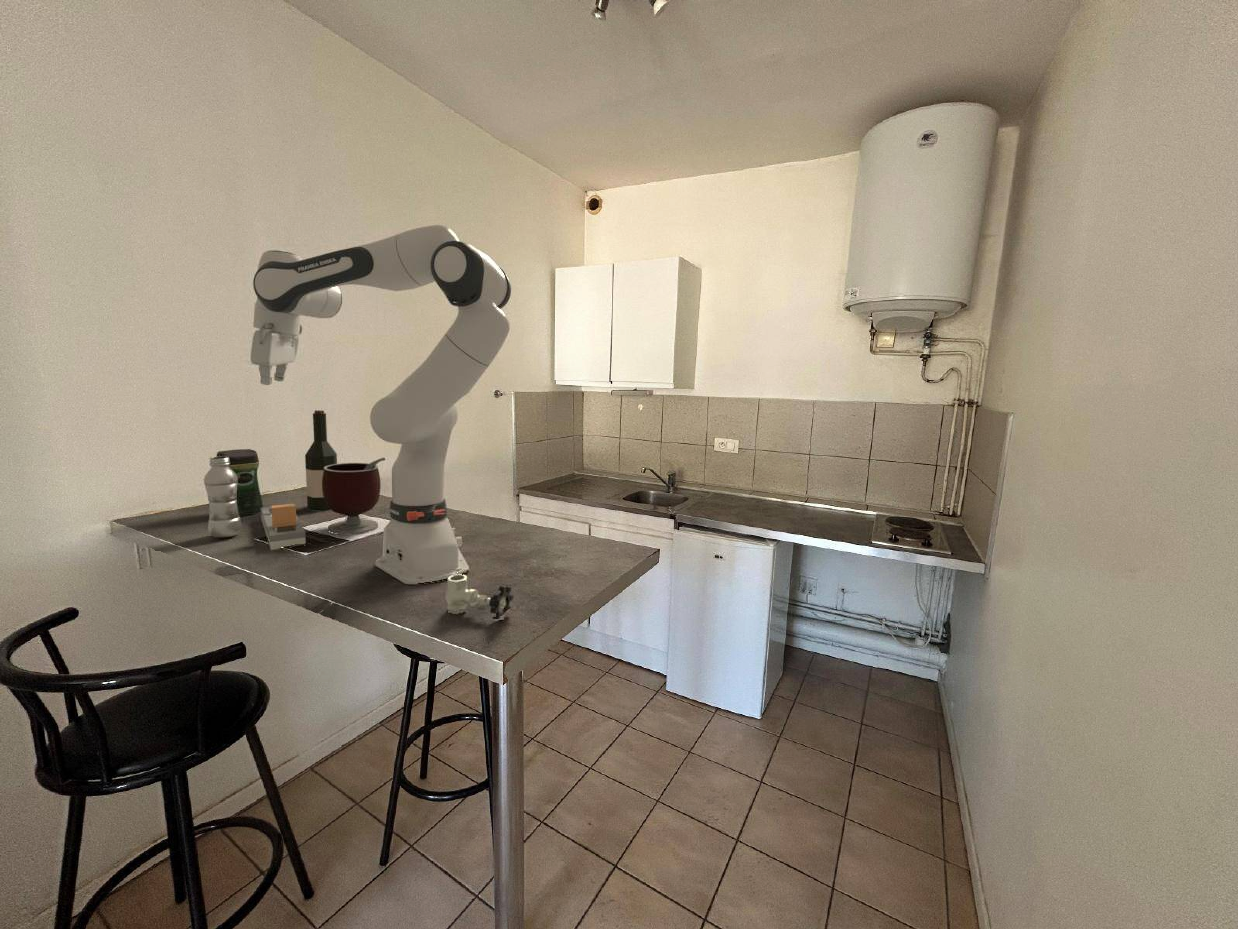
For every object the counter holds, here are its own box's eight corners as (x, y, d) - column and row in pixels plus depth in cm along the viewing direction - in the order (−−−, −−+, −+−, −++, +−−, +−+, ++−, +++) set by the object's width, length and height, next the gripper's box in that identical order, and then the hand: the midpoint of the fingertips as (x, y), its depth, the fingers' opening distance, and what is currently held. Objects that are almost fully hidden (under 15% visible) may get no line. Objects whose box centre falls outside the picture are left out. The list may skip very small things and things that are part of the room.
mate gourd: (314, 535, 127) (310, 459, 123) (337, 520, 140) (334, 451, 137) (377, 536, 129) (375, 461, 126) (394, 521, 142) (393, 453, 139)
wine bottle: (336, 503, 158) (332, 409, 153) (341, 509, 151) (337, 412, 146) (305, 506, 152) (300, 409, 147) (309, 512, 146) (305, 411, 141)
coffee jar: (256, 507, 148) (252, 446, 144) (266, 512, 143) (262, 450, 140) (216, 513, 140) (211, 449, 137) (226, 519, 135) (220, 452, 132)
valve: (436, 616, 89) (494, 629, 86) (436, 582, 88) (495, 594, 85) (458, 601, 96) (513, 613, 92) (458, 569, 94) (514, 580, 91)
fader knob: (297, 531, 123) (295, 506, 122) (273, 534, 120) (272, 508, 119) (295, 528, 125) (294, 503, 124) (272, 531, 122) (271, 505, 121)
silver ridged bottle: (249, 533, 125) (243, 456, 122) (225, 541, 119) (219, 460, 115) (225, 531, 126) (219, 454, 122) (201, 539, 119) (194, 458, 116)
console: (305, 545, 120) (305, 531, 119) (270, 550, 115) (269, 535, 115) (291, 516, 141) (290, 504, 140) (261, 520, 136) (260, 507, 136)
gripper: (278, 326, 106) (273, 389, 108) (304, 327, 125) (299, 381, 127) (243, 319, 104) (239, 384, 106) (275, 321, 122) (271, 376, 125)
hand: (272, 382), depth 117 cm, fingers open, 8 cm apart
